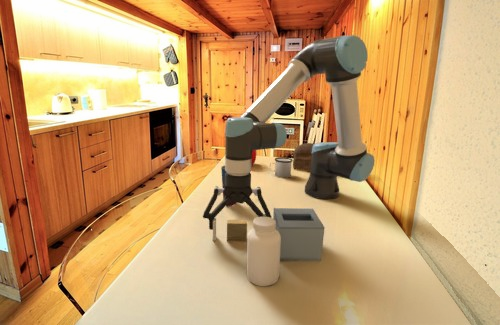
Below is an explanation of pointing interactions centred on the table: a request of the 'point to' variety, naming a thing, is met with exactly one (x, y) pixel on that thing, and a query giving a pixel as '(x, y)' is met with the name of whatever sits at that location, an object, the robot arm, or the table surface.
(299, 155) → the bread
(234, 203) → the cup
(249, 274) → the pill bottle
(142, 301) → the table surface
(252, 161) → the tomato
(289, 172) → the mug
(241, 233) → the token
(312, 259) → the grey hollow box
